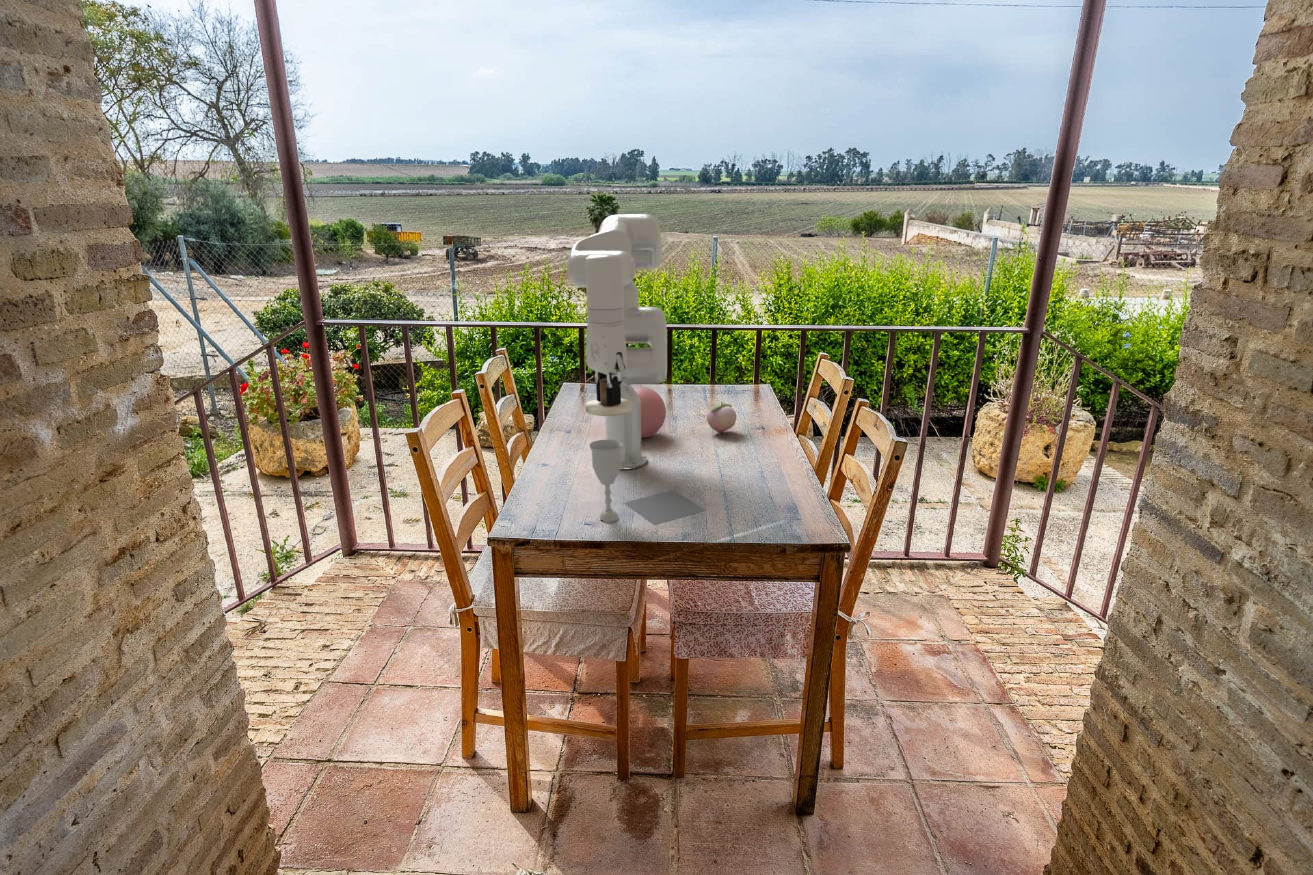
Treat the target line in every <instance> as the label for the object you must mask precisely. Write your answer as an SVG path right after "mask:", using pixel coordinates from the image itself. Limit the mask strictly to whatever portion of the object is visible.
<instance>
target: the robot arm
mask: <svg viewBox="0 0 1313 875" xmlns="http://www.w3.org/2000/svg"><path fill="white" fill-rule="evenodd" d="M662 258H663V248H662V235H661V230H660V225H659V223H658V221H657V219H656V218H655V217H654V216H653V215H652V214H648V213H632V214H631V213H630V214H629V213H627V214H625V213H621V214H613V215H609V216H607V217H606V218H605V219H603V220H602V222H601V224H600V227H599V229H598V233H595V234H593V235H590V236H587V237H584V238H582V239H581V240H579V241H577V242H575V243H574V245H573V246H572V247H571V250H570V252H569V255H568V259H567V264H566V272H567V278H568V280H569V282H570V283H571V284H572V286H574V287H578V288H586V308H587V309H586V310H587V311H586V312H587V314H586V315H587V326H586V334H585V335H586V339H585V362H586V366H587V367H588V368H589V369H591V370H592V371H593V373H594V381H595V386H596V387H595V388H596V390H595V391H596V399H597V401H599V402H600V380H601V379H605V378H607V384H608V387H606V402H607V406H613V405H619V404H621V398H622V399H627V400H629V401H631V402H632V405H633V409H632V411H631V412H629V413H626V414H623V415H617V416H604V417H605V437H606V438H605V440H617V441H620V442H622V444H623V445H622V447H621V467H620V468H633V469H636V468H635V467H638V466H641V467H643V466H645V465H646V464H647V463H646V462H648V456H647V454H645V453H644V452H642V438H641V404H640V398H639V396H638V394H637V392H636V391H635V390H634V389H633V388H634V387H633V386H632V385H654V384H655V385H657V384H661V383H663V382H664V381H665V380H666V377H667V373H668V333H667V332H668V329H667V319H666V314H665V313H664V311H663V310H662V309H661V308H659V307H657V306H639V289H638V287H637V285H636V283H635V282H634V278H635V276H636V272H637V271H650V270H651V271H653V270H656V269H657V268H658V267H659V266H660V265H661V263H662ZM627 344H647V345H649V347H630V346H629V347H628V346H627ZM612 378H613V379H612ZM645 463H646V464H645ZM642 465H643V466H642ZM638 468H639V467H638Z"/></svg>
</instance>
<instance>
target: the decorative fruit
mask: <svg viewBox="0 0 1313 875" xmlns="http://www.w3.org/2000/svg"><path fill="white" fill-rule="evenodd" d="M706 421H707V423H708V424H707V425H709V427H710V428H711V429H712V430H714V431H715V432H717V433H718V434H723V433H724V432H726V431H728V430H731V429H732V428H734V426H735V425H736V421H737V412H736V411H735V409H734V408H733V407H732V405H731V404H729V403H723V402H722V401H721V404H718V405H714V406H713V407H712V408H710V410H709V411H708V412H707V415H706Z"/></svg>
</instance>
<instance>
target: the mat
mask: <svg viewBox="0 0 1313 875" xmlns="http://www.w3.org/2000/svg"><path fill="white" fill-rule="evenodd" d="M625 502H626V503H624V502H623V504H624V505H626V506H627V507H628V508H630V509H631V510H633V511H634V512H636V513H637V514H638V515H640V516H641V517H643V518H644V519H646V520H647V521H648V522H650V523H651V524H653V526H656V525H659V524H663V523H665V522H670V521H673V520H677V519H681V518H684V517H687V516H691V515H695V514H698V513H703V512H706V511H707V509H706V508H704V507H702V506H701V505H699V504H697V503H696V502H694V500H691V499H690V498H688V497H686V496H684V495H682V494H681V493H680V492H678V491H676V490H674V489H671V490H668V491H665V492H664V491H663V492H660V493H657V494H651V495H649V496H645V497H640V498H635V499H634V500H633V499H632V500H628V501H625Z"/></svg>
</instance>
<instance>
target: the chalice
mask: <svg viewBox="0 0 1313 875" xmlns="http://www.w3.org/2000/svg"><path fill="white" fill-rule="evenodd" d="M622 445H623V444H622V442H620V441H617V440H606V439H600V440H599V439H598V440H595V441H591V442H590V443H589V445H588V447H589V448H590V450H591V462H592V468H593V471H594V474H595V475H596V478H597V480H598V481H599V483H600V484H601V485H604V486H605V490H604V492H603V494H604V496H605V499H604V500H603V501H604V502H605V508H604V509H602V510H601V511H600V513H599V516H598V519H599V518H600V520H603V521H606V522H605V523H613V522H612V521H614V522H616V521H618V520H619V518H618V517H619V514H618V512H617V511H616V510H615V509H614V508H612V506H611V503H612V501H613V499H612V498H611V494H612V491H611V488H610V487H611V485H614V484H615V481H616V479H617V477H618V475H619V472H620V470H621V469H620V467H621V447H622ZM600 520H599V521H600ZM615 520H616V521H615Z"/></svg>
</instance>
